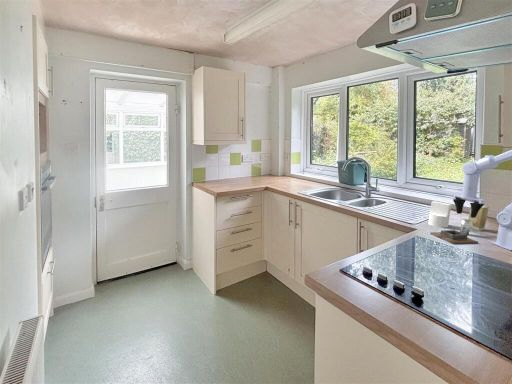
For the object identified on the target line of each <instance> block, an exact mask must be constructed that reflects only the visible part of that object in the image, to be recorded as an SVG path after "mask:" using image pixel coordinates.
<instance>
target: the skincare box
mask: <svg viewBox="0 0 512 384" xmlns="http://www.w3.org/2000/svg"><path fill="white" fill-rule="evenodd" d="M488 212H489V206H485V205H483V206H482V207H481V209H480V210H479V212H478V213H477V216H476V218H472V217H471V207H470V209H469V214H468V218H467V219H468V220H471V222H470V229H471V230H475V231H477V232H481V231H485V228H486V223H487V218H488Z"/></svg>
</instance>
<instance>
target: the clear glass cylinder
mask: <svg viewBox="0 0 512 384" xmlns="http://www.w3.org/2000/svg"><path fill="white" fill-rule="evenodd" d="M468 219H469V218H461V219H460V220H461V221H460V226H459V227H460V228H459V232H461V233H464V234H466V235H467V236H469V235H470V229H471V228H470V222H471V220H468Z"/></svg>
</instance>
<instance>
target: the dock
mask: <svg viewBox="0 0 512 384" xmlns="http://www.w3.org/2000/svg"><path fill="white" fill-rule="evenodd" d="M430 235H432V236H434V237H436V238H439V239H440V240H443V241H445V242H447V243H450V244H452V245H465V244H466V245H468V244H469V245H470V244H473V245H475V244H479V241H478V240H475V239H472V238H470V237H468V235H466V234H464V233H461V232H460V231H458V230H456V229H453V230H452V229H451V230H450V229H449V230H441V231H438V232H433V231H432V232H430Z"/></svg>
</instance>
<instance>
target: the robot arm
mask: <svg viewBox="0 0 512 384" xmlns="http://www.w3.org/2000/svg"><path fill="white" fill-rule="evenodd" d="M510 160H512V149H511V150H508V151H504V152H503V153H501V154H498V155H493V154H486V155H484V157H482V158H480V159H474V160H473V161H467V162H465V163H464V164H463V165H462V168H461V170H462V172H463V174H464V175H463V181H462V190H461V194H459V193H454V194H453V199H452V201H453V203H454V206H455V209H456V214H457V215H459V214H460V215H461V214H462V212H463V210H464V205H465V202H466V201H468V202H470V203H469V205H470V208H471V217H472V218H476V216H477V213H478V212H479V210H480V209H481V207H482V206H485V200H486V199H483V198H480V197H477V194H478V187H479V179H480V175H481V174H482V173H483V172H486V171H488V170H492V169H495V168H497V167H498V166H499V164H500V163H505V162H507V161H510ZM496 221H497V223H498V230H497V234H496V241H490V244H493V245H495V246H498V247H500V248H504V249H506V250H509V251H512V202H511V203H510V204H508V205H507V206H505V207H504V208H503V210H502V211H500V212H498V214H497V215H496Z"/></svg>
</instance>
